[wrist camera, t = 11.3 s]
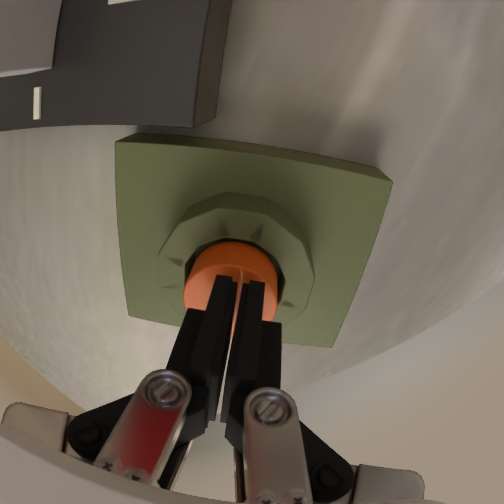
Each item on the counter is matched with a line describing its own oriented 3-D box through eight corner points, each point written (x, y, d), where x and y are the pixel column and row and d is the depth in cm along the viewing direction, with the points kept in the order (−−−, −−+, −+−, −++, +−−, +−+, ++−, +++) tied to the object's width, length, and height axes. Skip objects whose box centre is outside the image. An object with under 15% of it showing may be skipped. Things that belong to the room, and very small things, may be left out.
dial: (44, -27, 6) (-33, -41, 1) (72, -38, 6) (-6, -62, 1) (27, 74, 8) (-60, 90, 4) (52, 68, 8) (-40, 80, 4)
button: (284, 247, 12) (285, 273, 10) (269, 315, 14) (268, 343, 12) (194, 234, 12) (182, 257, 10) (191, 303, 14) (182, 330, 12)
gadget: (244, -63, 8) (234, -105, 4) (215, 118, 13) (192, 129, 9) (23, -18, 8) (-21, -24, 4) (6, 122, 13) (-40, 138, 9)
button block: (378, 168, 13) (410, 196, 10) (327, 322, 18) (335, 372, 15) (135, 133, 13) (93, 150, 10) (141, 293, 18) (117, 337, 15)
